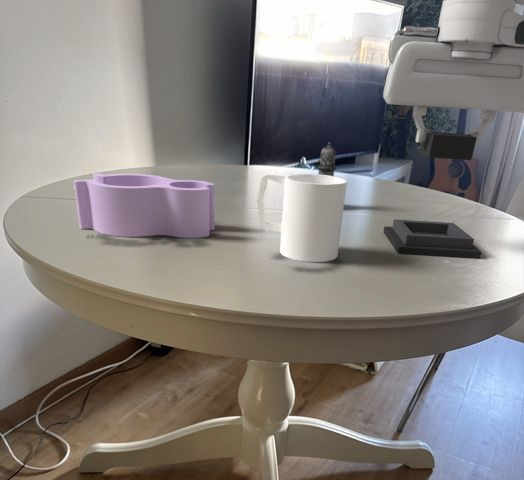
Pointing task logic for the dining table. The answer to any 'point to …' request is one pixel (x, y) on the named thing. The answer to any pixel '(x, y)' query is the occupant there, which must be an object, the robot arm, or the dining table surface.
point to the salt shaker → (327, 161)
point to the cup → (307, 215)
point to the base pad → (431, 239)
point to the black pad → (448, 146)
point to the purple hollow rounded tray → (145, 205)
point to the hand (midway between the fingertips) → (447, 144)
